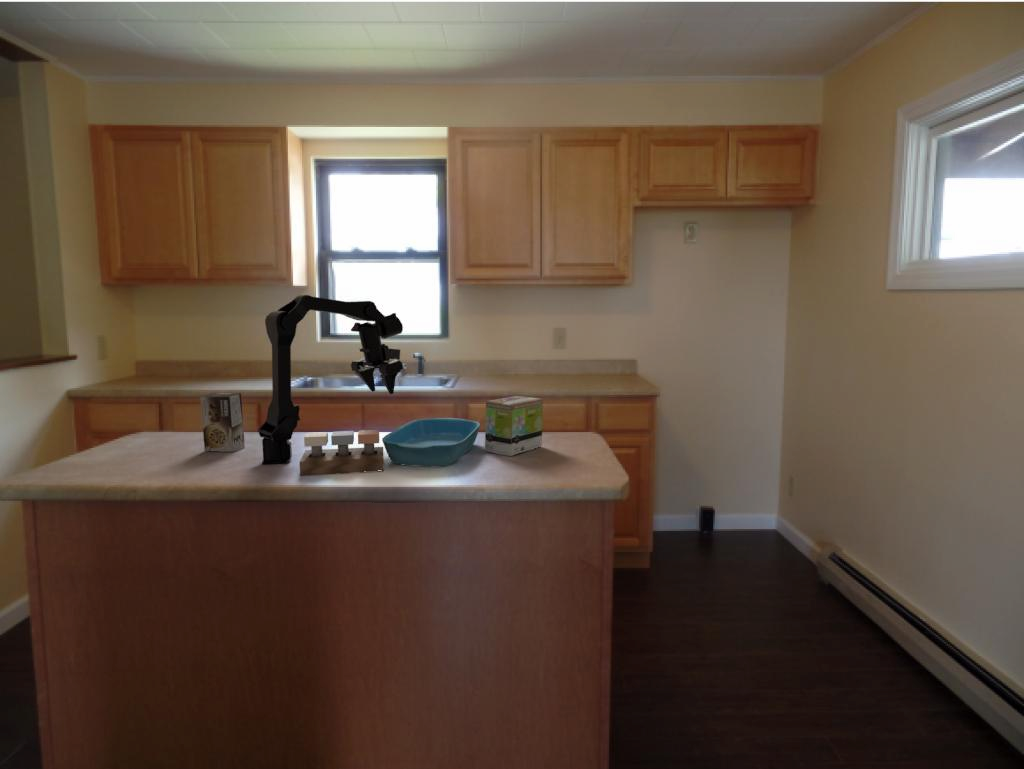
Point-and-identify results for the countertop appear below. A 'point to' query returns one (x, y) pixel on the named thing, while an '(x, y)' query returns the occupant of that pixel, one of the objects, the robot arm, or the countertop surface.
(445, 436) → the casserole dish
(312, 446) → the cream key
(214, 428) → the coffee box
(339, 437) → the slate key
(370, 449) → the terracotta key
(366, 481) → the countertop surface
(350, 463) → the key block
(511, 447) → the tea box
